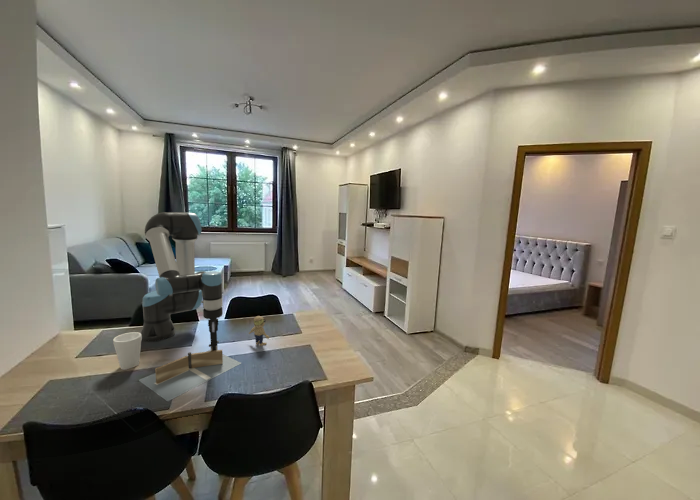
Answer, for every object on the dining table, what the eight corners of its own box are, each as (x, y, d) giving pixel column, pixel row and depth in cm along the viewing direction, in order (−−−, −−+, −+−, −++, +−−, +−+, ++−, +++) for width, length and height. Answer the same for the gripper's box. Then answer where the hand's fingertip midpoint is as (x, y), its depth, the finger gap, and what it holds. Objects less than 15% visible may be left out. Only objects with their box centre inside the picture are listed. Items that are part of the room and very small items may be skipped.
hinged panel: (188, 367, 123) (188, 352, 122) (222, 362, 127) (222, 348, 126) (188, 368, 122) (187, 353, 121) (222, 363, 126) (222, 349, 125)
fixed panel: (156, 382, 112) (155, 368, 111) (187, 368, 122) (186, 355, 121) (157, 384, 111) (156, 369, 110) (188, 369, 121) (188, 356, 120)
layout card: (138, 381, 113) (138, 380, 113) (211, 349, 139) (211, 348, 139) (167, 402, 102) (167, 401, 102) (241, 364, 128) (241, 363, 128)
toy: (273, 344, 146) (273, 316, 144) (265, 349, 141) (265, 320, 139) (254, 339, 151) (253, 312, 149) (246, 343, 146) (245, 315, 144)
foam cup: (120, 361, 126) (117, 333, 124) (145, 358, 130) (143, 330, 128) (112, 373, 117) (109, 343, 115) (140, 369, 121) (137, 340, 119)
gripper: (203, 303, 129) (205, 352, 132) (202, 313, 117) (204, 367, 121) (222, 301, 132) (223, 350, 136) (222, 311, 120) (223, 364, 124)
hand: (214, 358), depth 128 cm, fingers closed
